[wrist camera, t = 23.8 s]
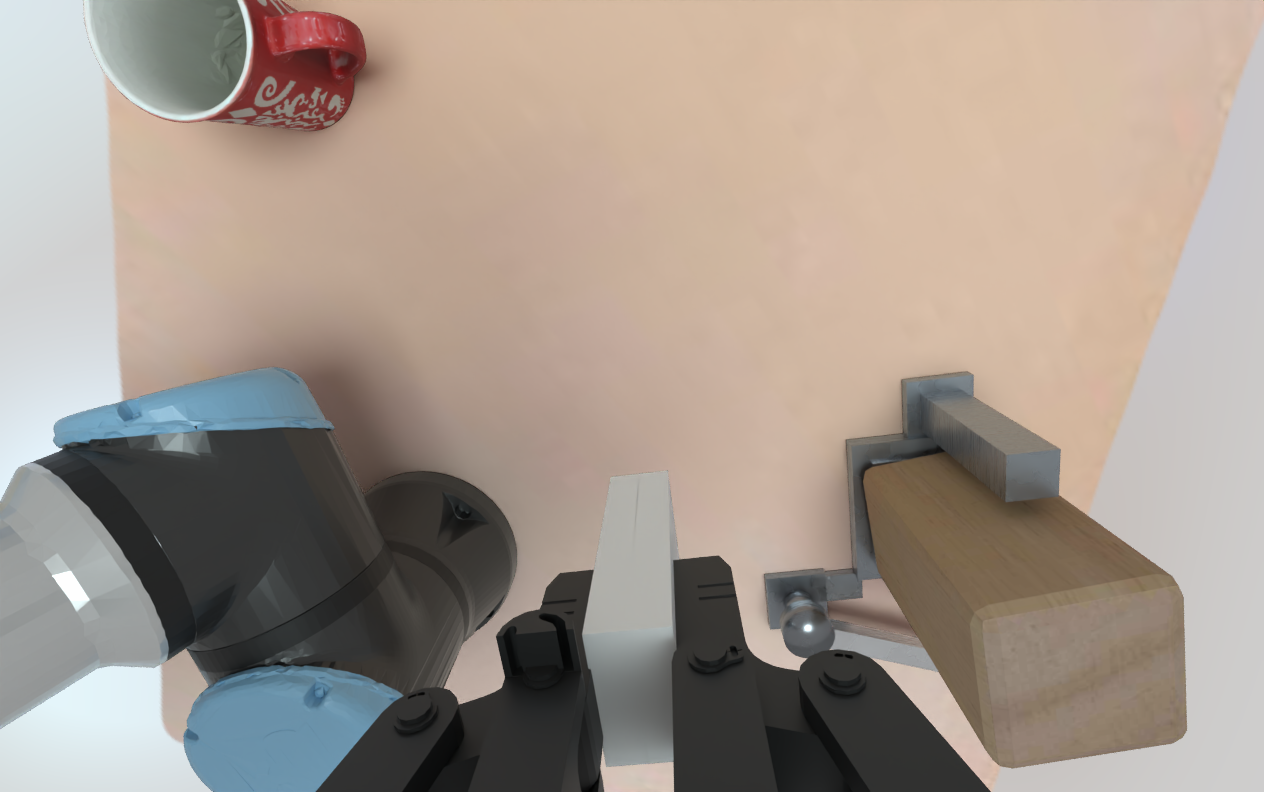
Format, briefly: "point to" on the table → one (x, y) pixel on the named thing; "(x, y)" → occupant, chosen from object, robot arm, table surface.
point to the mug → (228, 60)
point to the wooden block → (1030, 614)
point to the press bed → (931, 425)
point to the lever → (846, 637)
